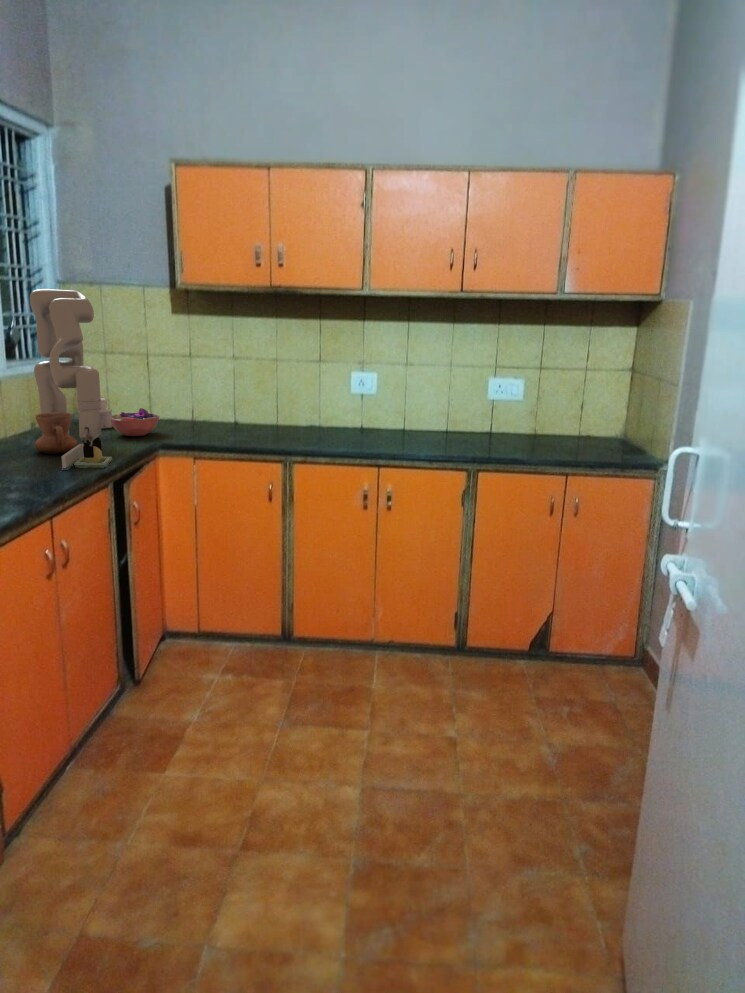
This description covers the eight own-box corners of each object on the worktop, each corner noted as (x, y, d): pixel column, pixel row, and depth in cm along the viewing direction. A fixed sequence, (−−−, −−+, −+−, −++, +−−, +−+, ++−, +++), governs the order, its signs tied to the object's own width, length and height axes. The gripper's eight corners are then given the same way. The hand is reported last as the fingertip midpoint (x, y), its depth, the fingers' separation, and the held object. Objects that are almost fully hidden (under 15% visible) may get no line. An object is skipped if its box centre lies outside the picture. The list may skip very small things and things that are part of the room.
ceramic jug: (32, 449, 258) (29, 411, 254) (73, 446, 266) (71, 409, 262) (39, 459, 244) (35, 420, 240) (82, 456, 251) (79, 417, 247)
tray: (83, 461, 244) (82, 456, 243) (112, 461, 245) (111, 456, 244) (74, 468, 234) (74, 462, 234) (104, 468, 235) (104, 463, 235)
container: (88, 426, 304) (86, 397, 300) (105, 424, 309) (103, 396, 305) (95, 429, 298) (93, 399, 295) (112, 427, 303) (110, 398, 300)
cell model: (104, 434, 289) (103, 407, 286) (150, 430, 302) (149, 404, 299) (120, 441, 277) (118, 414, 274) (167, 436, 290) (165, 410, 287)
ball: (87, 460, 242) (85, 444, 240) (104, 461, 243) (103, 444, 241) (82, 465, 236) (80, 448, 234) (100, 465, 237) (98, 448, 235)
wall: (80, 457, 249) (79, 443, 248) (84, 457, 249) (83, 443, 248) (62, 470, 230) (61, 456, 229) (66, 470, 230) (65, 456, 229)
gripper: (85, 401, 241) (89, 448, 246) (70, 409, 225) (74, 459, 230) (107, 401, 242) (110, 449, 247) (93, 409, 226) (97, 460, 231)
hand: (92, 454), depth 238 cm, fingers open, 9 cm apart
